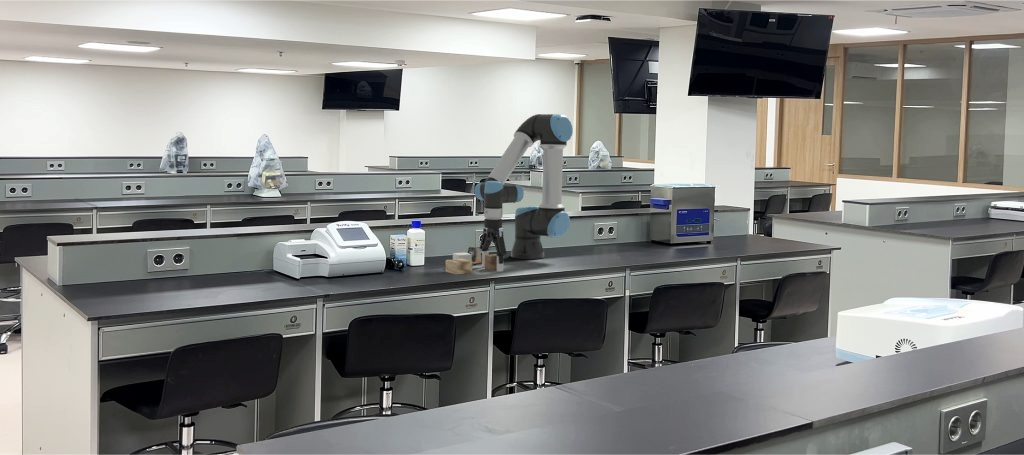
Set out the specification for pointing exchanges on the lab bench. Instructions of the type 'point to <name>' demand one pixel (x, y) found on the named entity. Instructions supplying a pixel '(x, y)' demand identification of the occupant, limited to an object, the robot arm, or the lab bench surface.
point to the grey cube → (462, 256)
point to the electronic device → (475, 254)
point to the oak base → (458, 266)
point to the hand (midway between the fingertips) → (492, 268)
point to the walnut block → (491, 262)
